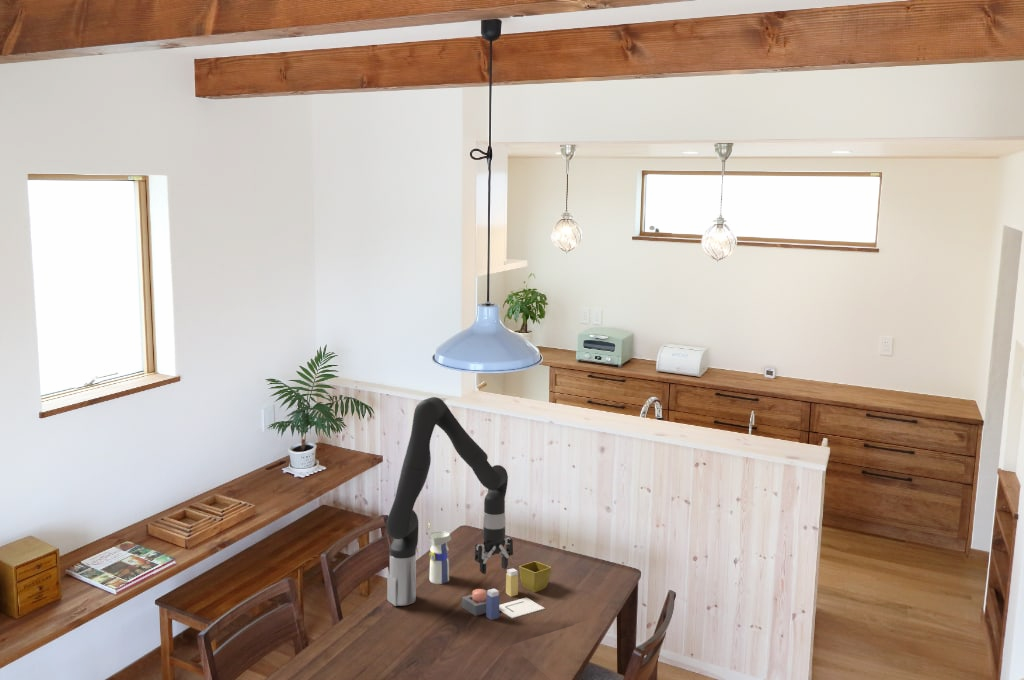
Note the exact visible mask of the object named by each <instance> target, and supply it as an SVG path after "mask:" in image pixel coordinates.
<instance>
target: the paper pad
mask: <svg viewBox="0 0 1024 680" xmlns="http://www.w3.org/2000/svg"><path fill="white" fill-rule="evenodd" d="M545 609H546V608H545V607H544V606H542V605H541V604H539V603H538V602H537V603H536V602H535V601H533V600H532V599H530V598H528V597H523V598H520V599H515V600H513V601H512V600H511V601H508V602H505V603H502V604H501V603H500V604H499V612H501V613H502V614H505V615H506V616H508V617H509V618H511V619H515V618H518V617H522V616H525V615H529V614H532V613H536V612H540V611H544V610H545Z"/></svg>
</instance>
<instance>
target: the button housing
mask: <svg viewBox="0 0 1024 680" xmlns="http://www.w3.org/2000/svg"><path fill="white" fill-rule="evenodd" d="M461 607H462V608H463V609H465V610H466V611H467V612H469V613H470V614H471V615H473V616H475V617H477V616H481V615H484V614H486V601H484V602H480V603H476V602H474V601H473V600H472V594H469V595H465V596H462V597H461Z"/></svg>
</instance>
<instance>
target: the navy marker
mask: <svg viewBox="0 0 1024 680" xmlns="http://www.w3.org/2000/svg"><path fill="white" fill-rule="evenodd" d="M486 591H487V599H486V613H485V616H486V618H488V619H489V620H490V621H492V620H496V619H497V620H498V619H499V618H500V610H499V605H500V590H497V589H496V588H491V589H487V590H486Z"/></svg>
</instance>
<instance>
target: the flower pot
mask: <svg viewBox="0 0 1024 680" xmlns="http://www.w3.org/2000/svg"><path fill="white" fill-rule="evenodd" d="M518 569H519V578H520V582H521V585H522V587H523V588H524V589H526V590H528V591H530V592H533V593H537V592H539V591H542V590H544V589H546V588H547V586H548V584H549V581H550V578H551V577H550V576H551V571H552V566H549V565H547V564H544V563H542V562H539V561H535V560H534V561H530V562H528V563H525V564H521V565H519V566H518Z"/></svg>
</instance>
